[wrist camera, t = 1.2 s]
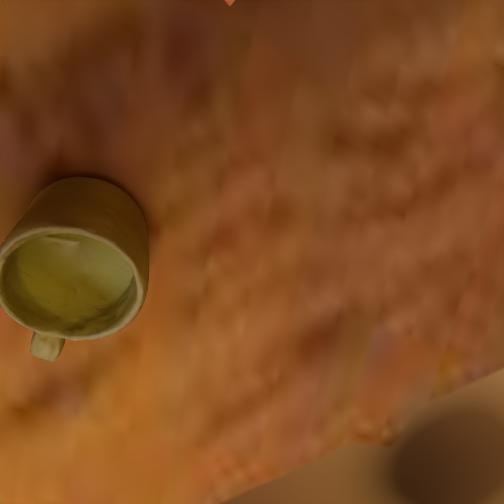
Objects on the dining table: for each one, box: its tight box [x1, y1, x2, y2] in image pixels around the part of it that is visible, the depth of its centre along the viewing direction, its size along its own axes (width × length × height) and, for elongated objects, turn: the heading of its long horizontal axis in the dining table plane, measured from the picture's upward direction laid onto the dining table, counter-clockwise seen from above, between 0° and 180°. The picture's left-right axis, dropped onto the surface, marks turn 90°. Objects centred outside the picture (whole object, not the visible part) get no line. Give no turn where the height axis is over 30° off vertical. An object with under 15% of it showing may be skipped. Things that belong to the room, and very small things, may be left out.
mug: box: [0, 177, 149, 362], centre depth 34 cm, size 12×10×10 cm
